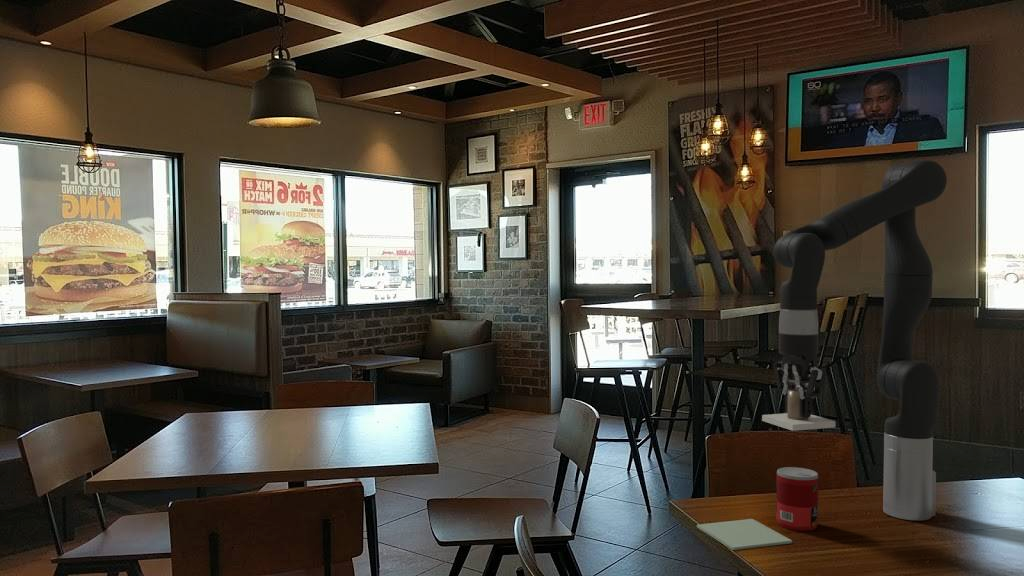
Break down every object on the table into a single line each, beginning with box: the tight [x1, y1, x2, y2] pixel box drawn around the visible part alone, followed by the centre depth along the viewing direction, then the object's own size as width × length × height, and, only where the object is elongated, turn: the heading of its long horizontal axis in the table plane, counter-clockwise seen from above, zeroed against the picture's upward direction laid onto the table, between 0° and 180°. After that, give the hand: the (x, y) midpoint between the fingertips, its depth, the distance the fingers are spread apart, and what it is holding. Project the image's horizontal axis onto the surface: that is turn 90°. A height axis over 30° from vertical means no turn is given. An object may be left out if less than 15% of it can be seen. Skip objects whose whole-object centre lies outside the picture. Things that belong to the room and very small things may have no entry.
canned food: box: [775, 466, 819, 532], centre depth 155 cm, size 8×8×11 cm
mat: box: [696, 518, 793, 551], centre depth 149 cm, size 13×13×1 cm
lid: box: [761, 388, 836, 432], centre depth 154 cm, size 10×10×7 cm
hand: (797, 414), depth 155 cm, fingers closed on lid, 4 cm apart
